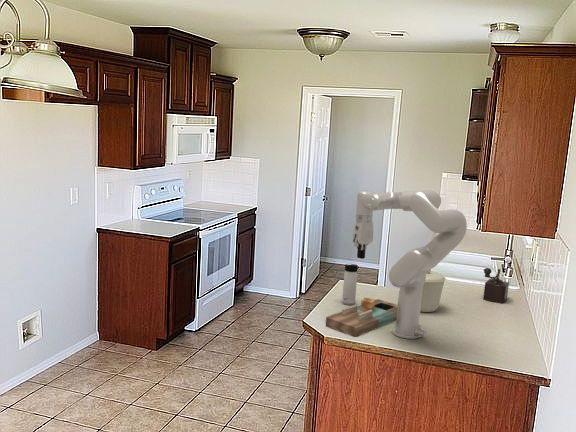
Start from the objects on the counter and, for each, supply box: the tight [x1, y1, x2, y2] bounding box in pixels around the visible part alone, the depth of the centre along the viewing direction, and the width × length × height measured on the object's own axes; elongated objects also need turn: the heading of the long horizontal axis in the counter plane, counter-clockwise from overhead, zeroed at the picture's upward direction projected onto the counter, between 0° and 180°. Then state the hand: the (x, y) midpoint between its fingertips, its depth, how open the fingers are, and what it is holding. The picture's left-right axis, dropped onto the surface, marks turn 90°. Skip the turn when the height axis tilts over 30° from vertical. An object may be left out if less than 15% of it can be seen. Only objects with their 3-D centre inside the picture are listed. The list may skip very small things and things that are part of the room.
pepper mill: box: [482, 267, 510, 305], centre depth 295 cm, size 16×11×18 cm
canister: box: [420, 269, 447, 313], centre depth 275 cm, size 18×18×21 cm
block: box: [360, 297, 376, 312], centre depth 258 cm, size 5×5×5 cm
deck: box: [325, 298, 398, 338], centre depth 256 cm, size 16×40×7 cm, turn 137°
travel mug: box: [341, 263, 359, 306], centre depth 278 cm, size 6×7×20 cm
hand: (360, 257), depth 259 cm, fingers closed
